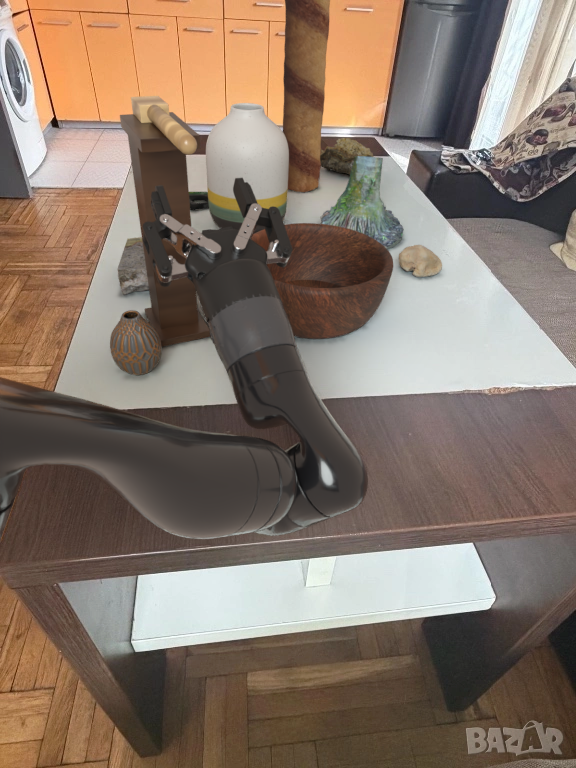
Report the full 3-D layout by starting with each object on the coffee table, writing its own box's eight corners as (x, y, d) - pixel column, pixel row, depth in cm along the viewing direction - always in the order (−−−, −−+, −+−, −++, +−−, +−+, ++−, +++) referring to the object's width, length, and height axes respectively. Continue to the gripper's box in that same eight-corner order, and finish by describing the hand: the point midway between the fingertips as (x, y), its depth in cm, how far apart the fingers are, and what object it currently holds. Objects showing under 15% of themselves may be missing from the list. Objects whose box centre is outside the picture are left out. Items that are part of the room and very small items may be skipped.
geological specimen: (115, 272, 87) (126, 230, 98) (122, 303, 91) (132, 260, 102) (181, 269, 88) (184, 229, 99) (185, 300, 92) (188, 258, 103)
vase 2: (299, 235, 114) (306, 113, 99) (226, 247, 107) (222, 119, 92) (266, 208, 125) (267, 95, 110) (198, 217, 119) (190, 99, 104)
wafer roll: (271, 182, 140) (276, -34, 111) (305, 177, 144) (319, -32, 116) (290, 195, 133) (300, -32, 104) (325, 189, 137) (345, -29, 109)
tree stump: (316, 249, 109) (320, 156, 102) (320, 234, 127) (324, 154, 120) (405, 253, 108) (416, 158, 100) (397, 237, 126) (405, 156, 118)
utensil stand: (215, 343, 81) (204, 134, 62) (163, 354, 78) (135, 139, 59) (192, 305, 89) (176, 111, 70) (145, 314, 86) (115, 114, 67)
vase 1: (172, 357, 77) (165, 306, 72) (150, 386, 72) (141, 332, 67) (129, 349, 79) (120, 297, 73) (105, 376, 74) (93, 323, 68)
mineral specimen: (361, 165, 155) (365, 128, 149) (380, 179, 145) (386, 141, 139) (315, 167, 151) (318, 130, 145) (332, 182, 142) (335, 143, 135)
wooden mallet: (132, 114, 68) (130, 96, 67) (160, 112, 69) (158, 95, 68) (174, 158, 54) (172, 137, 53) (207, 155, 56) (206, 135, 54)
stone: (410, 271, 108) (389, 252, 103) (435, 251, 106) (415, 230, 100) (423, 293, 104) (402, 274, 99) (450, 271, 101) (430, 251, 96)
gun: (141, 205, 119) (145, 190, 127) (142, 212, 120) (145, 196, 127) (214, 205, 121) (212, 190, 129) (214, 211, 122) (213, 196, 130)
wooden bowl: (381, 360, 79) (393, 301, 73) (221, 338, 82) (218, 279, 75) (385, 283, 99) (395, 230, 92) (255, 267, 101) (256, 215, 95)
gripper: (325, 286, 49) (268, 154, 54) (177, 315, 44) (128, 166, 49) (303, 324, 56) (254, 203, 61) (172, 352, 51) (130, 218, 56)
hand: (198, 187), depth 55 cm, fingers open, 8 cm apart
